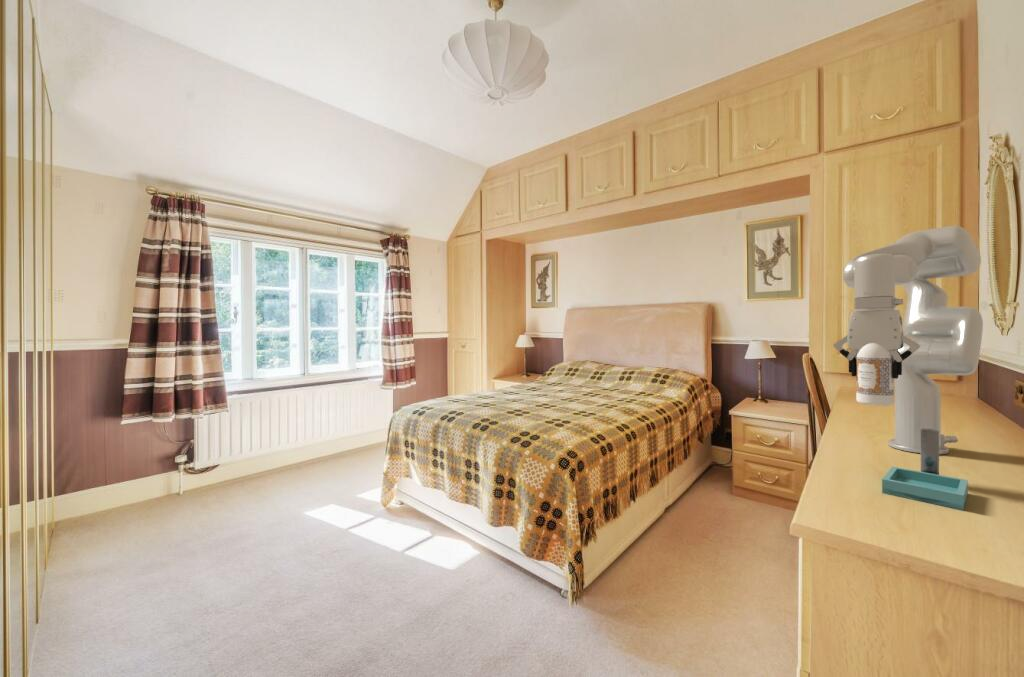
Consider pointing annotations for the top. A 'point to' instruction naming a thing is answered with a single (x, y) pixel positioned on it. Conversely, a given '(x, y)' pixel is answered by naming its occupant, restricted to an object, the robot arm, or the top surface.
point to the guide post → (930, 451)
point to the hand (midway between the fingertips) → (874, 376)
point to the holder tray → (926, 487)
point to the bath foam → (874, 376)
